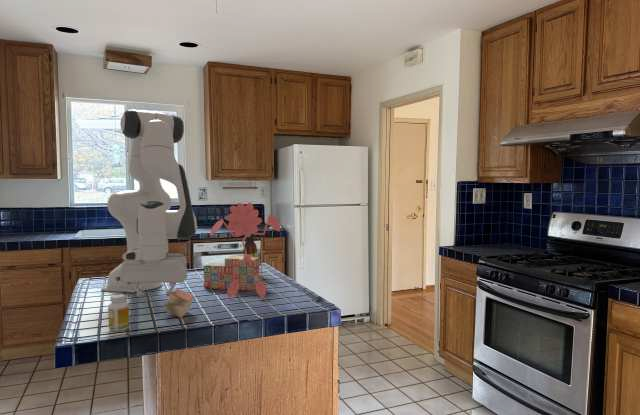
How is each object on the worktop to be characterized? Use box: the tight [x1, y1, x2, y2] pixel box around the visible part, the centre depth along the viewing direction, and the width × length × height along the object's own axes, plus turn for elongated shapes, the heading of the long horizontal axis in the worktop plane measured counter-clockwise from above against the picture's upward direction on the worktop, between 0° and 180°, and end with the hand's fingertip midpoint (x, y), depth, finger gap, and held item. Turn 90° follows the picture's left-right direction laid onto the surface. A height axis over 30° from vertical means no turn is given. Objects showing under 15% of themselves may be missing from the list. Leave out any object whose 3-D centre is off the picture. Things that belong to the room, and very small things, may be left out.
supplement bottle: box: [107, 293, 130, 332], centre depth 130 cm, size 5×5×10 cm
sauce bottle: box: [242, 234, 259, 257], centre depth 199 cm, size 6×6×20 cm
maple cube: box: [163, 288, 195, 319], centre depth 142 cm, size 6×6×6 cm
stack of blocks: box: [203, 255, 260, 291], centre depth 178 cm, size 21×6×12 cm, turn 78°
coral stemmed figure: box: [210, 202, 281, 308], centre depth 158 cm, size 15×26×35 cm, turn 86°
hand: (154, 295), depth 143 cm, fingers open, 8 cm apart
